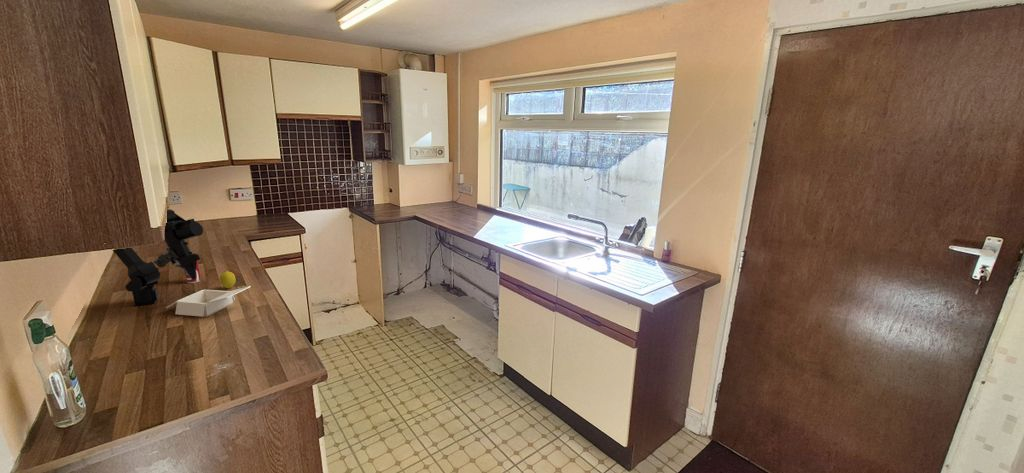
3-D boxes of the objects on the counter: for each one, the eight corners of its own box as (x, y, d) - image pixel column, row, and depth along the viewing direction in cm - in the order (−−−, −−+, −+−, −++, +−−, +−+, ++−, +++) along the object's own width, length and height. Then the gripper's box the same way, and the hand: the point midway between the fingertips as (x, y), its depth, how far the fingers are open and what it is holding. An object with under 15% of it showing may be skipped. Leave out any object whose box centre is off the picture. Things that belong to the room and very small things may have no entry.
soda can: (203, 280, 187) (199, 255, 184) (190, 284, 183) (186, 258, 180) (196, 278, 190) (192, 253, 187) (184, 282, 185) (179, 256, 182)
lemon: (229, 291, 176) (226, 273, 174) (218, 290, 177) (215, 272, 175) (239, 286, 181) (237, 269, 179) (229, 285, 182) (226, 268, 180)
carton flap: (206, 302, 152) (226, 297, 150) (231, 290, 163) (250, 285, 161) (207, 303, 152) (227, 298, 150) (231, 291, 163) (250, 287, 161)
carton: (162, 314, 153) (159, 302, 152) (197, 298, 168) (195, 286, 167) (203, 318, 151) (201, 305, 150) (236, 301, 166) (234, 289, 165)
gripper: (145, 250, 158) (164, 287, 162) (154, 250, 146) (174, 290, 150) (179, 239, 166) (196, 274, 170) (191, 238, 154) (209, 276, 158)
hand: (193, 279), depth 162 cm, fingers closed
